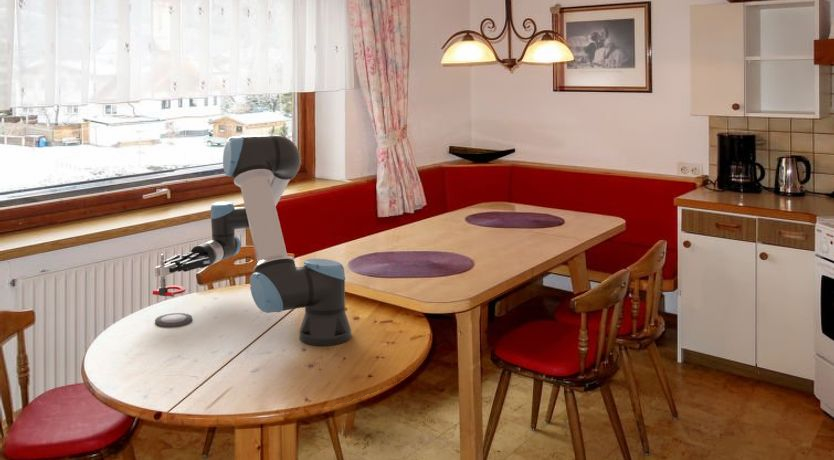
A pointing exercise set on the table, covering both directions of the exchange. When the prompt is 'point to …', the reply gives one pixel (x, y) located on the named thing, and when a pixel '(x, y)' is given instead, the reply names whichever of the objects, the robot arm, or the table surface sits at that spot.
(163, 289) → the tow hook
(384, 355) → the table surface
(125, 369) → the table surface
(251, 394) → the table surface
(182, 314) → the plate
